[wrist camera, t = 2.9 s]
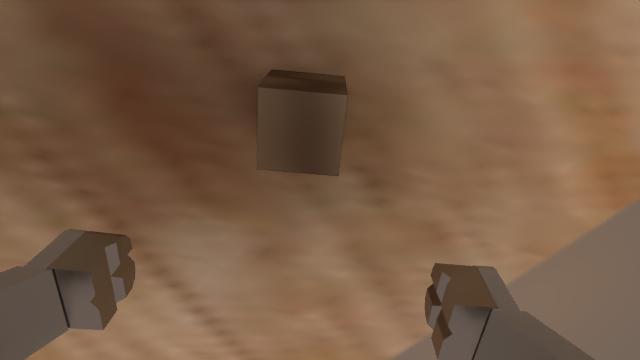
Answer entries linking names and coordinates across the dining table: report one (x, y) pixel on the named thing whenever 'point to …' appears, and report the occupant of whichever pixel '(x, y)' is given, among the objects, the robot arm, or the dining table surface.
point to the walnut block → (301, 122)
